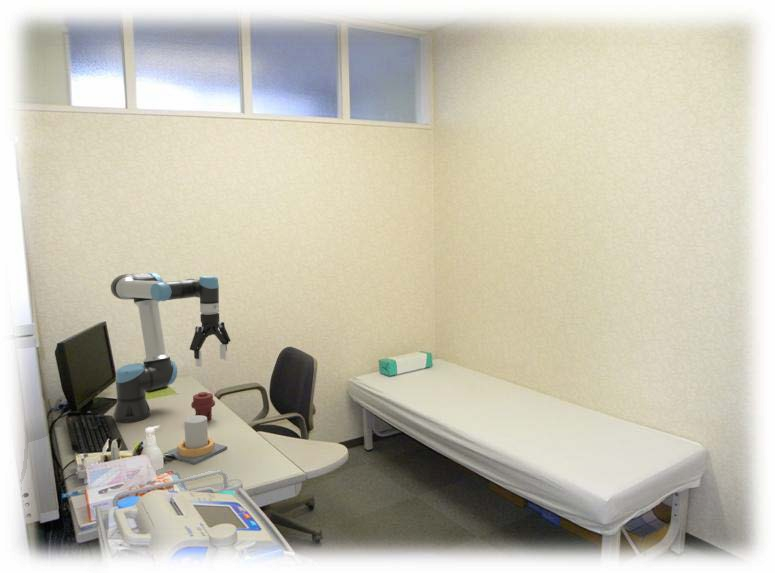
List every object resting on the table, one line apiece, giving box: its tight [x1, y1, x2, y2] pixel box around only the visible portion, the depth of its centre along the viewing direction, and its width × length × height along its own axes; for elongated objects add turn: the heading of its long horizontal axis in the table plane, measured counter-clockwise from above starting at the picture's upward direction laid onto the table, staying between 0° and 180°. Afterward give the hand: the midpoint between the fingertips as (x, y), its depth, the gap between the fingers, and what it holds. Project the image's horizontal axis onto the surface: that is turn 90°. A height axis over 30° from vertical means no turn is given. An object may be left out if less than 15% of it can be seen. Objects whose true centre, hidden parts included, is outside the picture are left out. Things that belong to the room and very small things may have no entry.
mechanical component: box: [190, 391, 216, 421], centre depth 242 cm, size 12×10×10 cm
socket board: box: [164, 436, 228, 465], centre depth 208 cm, size 16×16×4 cm
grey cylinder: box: [184, 415, 209, 449], centre depth 208 cm, size 8×8×12 cm
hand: (211, 362), depth 230 cm, fingers open, 13 cm apart
